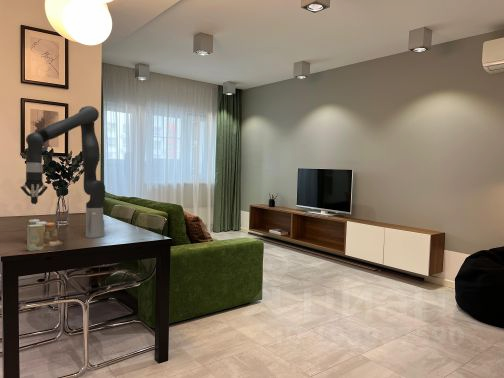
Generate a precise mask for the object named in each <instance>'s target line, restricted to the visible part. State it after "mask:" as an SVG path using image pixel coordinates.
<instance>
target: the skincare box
mask: <svg viewBox="0 0 504 378" xmlns="http://www.w3.org/2000/svg"><path fill="white" fill-rule="evenodd" d="M43 237H44V225H41V224H38V225H31V224H27V227H26V240H27V242H26V250H27V251H29V252H32V251H43V250H44V247H43Z"/></svg>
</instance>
